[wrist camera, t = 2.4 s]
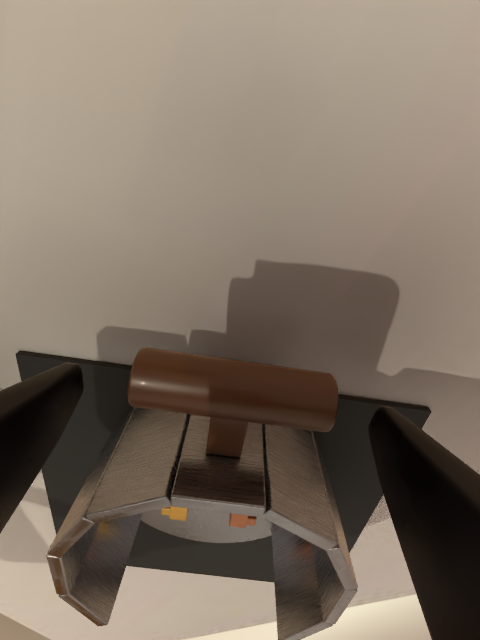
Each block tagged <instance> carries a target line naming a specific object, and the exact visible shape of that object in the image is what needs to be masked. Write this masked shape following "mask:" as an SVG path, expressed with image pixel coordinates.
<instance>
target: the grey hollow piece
mask: <svg viewBox="0 0 480 640" xmlns="http://www.w3.org/2000/svg"><path fill="white" fill-rule="evenodd" d="M128 401H129V404H130V405H131V406H133V407H134V408H133V409H132V410H131V411H130V412H129V413H128V415H127V416H126V417H125V418H124V419H123V421H122V422H121V423H120V424H119V425H118V427H117V428H116V429H115V430H114V431H113V433H112V434H111V435H110V436H109V437H108V439H107V441H106V443H105V445H104V447H103V449H102V450H101V452H100V454H99V456H98V458H97V460H96V462H95V464H94V466H93V467H92V469H91V471H90V473H89V475H88V477H87V479H86V481H85V482H84V484H83V486H82V488H81V490H80V492H79V494H78V496H77V498H76V499H75V501H74V503H73V505H72V507H71V509H70V511H69V513H68V514H67V516H66V518H65V520H64V522H63V524H62V526H61V528H60V530H59V531H58V533H57V535H56V537H55V539H54V541H53V543H52V545H51V546H50V548H49V550H48V554H47V559H48V563H49V567H50V571H51V574H52V578H53V582H54V586H55V589H56V593H57V594H59V597H60V598H62V599H63V600H64V601H66V602H67V603H68V604H70V605H71V606H72V607H74V608H75V609H76V610H78V611H79V612H80V613H82V614H83V615H84V616H85V617H87V618H88V619H89V620H91V621H92V622H93V623H95V624H96V625H97V626H103V625H107V624H108V622H109V619H110V616H111V612H112V609H113V606H114V603H115V600H116V596H117V593H118V590H119V587H120V584H121V581H122V577H123V574H124V571H125V568H126V565H127V561H128V558H129V555H130V552H131V549H132V545H133V542H134V539H135V536H136V533H137V530H138V526H139V523H140V520H142V521H143V522H145V523H146V524H148V525H150V526H152V527H154V528H156V529H158V530H161V531H163V532H166V533H168V534H171V535H174V536H178V537H181V538H185V539H190V540H195V541H201V542H212V543H235V542H245V541H252V540H256V539H261V538H265V537H268V536H271V535H272V547H273V564H274V581H275V597H276V614H277V629H278V630H277V631H278V640H301V639H303V638H305V637H307V636H310V635H312V634H314V633H317V632H319V631H321V630H324V629H326V628H328V627H331V626H332V625H333V624H335V623H336V622H337V620H338V619H339V617H340V616H341V614H342V613H343V612H344V610H345V609H346V607H347V606H348V604H349V603H350V601H351V600H352V598H353V597H354V595H355V594H356V592H357V588H358V586H357V582H356V578H355V574H354V570H353V566H352V563H351V559H350V555H349V551H348V547H347V543H346V539H345V536H344V532H343V528H342V524H341V520H340V516H339V512H338V509H337V505H336V501H335V497H334V493H333V489H332V485H331V482H330V478H329V474H328V470H327V466H326V463H325V461H324V458H323V456H322V453H321V450H320V448H319V445H318V443H317V440H316V438H315V435H314V433H313V431H318V432H328V431H330V430H331V429H332V427H333V425H334V423H335V420H336V417H337V411H338V388H337V383H336V380H335V378H334V377H333V376H332V375H331V374H329V373H322V372H315V371H308V370H301V369H294V368H287V367H280V366H273V365H266V364H259V363H252V362H244V361H237V360H230V359H223V358H216V357H209V356H202V355H195V354H188V353H181V352H174V351H167V350H159V349H152V348H142V349H141V350H140V351H139V352H138V354H137V356H136V358H135V360H134V362H133V365H132V368H131V372H130V377H129V382H128ZM171 506H173V507H181V508H188V514H187V519H186V521H181V520H173V519H170V516H168V515H161V509H162V508H166V507H171ZM231 514H239V515H247V516H256V518H257V519H256V523H255V526H251V525H246V528H240V527H232V526H229V519H230V515H231Z"/></svg>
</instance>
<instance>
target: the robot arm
mask: <svg viewBox="0 0 480 640" xmlns="http://www.w3.org/2000/svg"><path fill="white" fill-rule="evenodd" d="M83 389H84V384H83V375H82V368H81V366H80V365H79V364H74V363H63V364H61V365H59V366H56V367H54V368H52V369H49V370H47V371H45V372H43V373H40V374H38V375H36V376H33V377H31V378H29V379H26V380H24V381H22V382H20V383H17V384H15V385H13V386H10V387H8V388H6V389H4V390H1V391H0V533H1V531H2V530H3V528H4V527H5V525H6V523H7V522H8V520H9V519H10V517H11V516H12V514H13V512H14V511H15V509H16V508H17V506H18V505H19V503H20V501H21V500H22V498H23V497H24V495H25V494H26V492H27V490H28V489H29V487H30V486H31V484H32V483H33V481H34V479H35V478H36V476H37V475H38V473H39V472H40V470H41V468H42V467H43V465H44V464H45V462H46V461H47V459H48V457H49V456H50V454H51V453H52V451H53V450H54V448H55V446H56V445H57V443H58V441H59V439H60V438H61V436H62V434H63V432H64V430H65V428H66V426H67V424H68V422H69V420H70V418H71V416H72V414H73V412H74V410H75V408H76V406H77V404H78V402H79V399H80V397H81V395H82V393H83ZM368 433H369V437H370V442H371V446H372V451H373V455H374V460H375V464H376V469H377V473H378V477H379V481H380V485H381V488H382V491H383V494H384V497H385V500H386V503H387V506H388V509H389V512H390V515H391V518H392V521H393V524H394V527H395V530H396V533H397V536H398V539H399V542H400V545H401V548H402V551H403V554H404V557H405V560H406V563H407V566H408V569H409V572H410V575H411V578H412V581H413V584H414V587H415V590H416V593H417V596H418V599H419V602H420V605H421V608H422V611H423V614H424V617H425V620H426V623H427V626H428V629H429V632H430V635H431V638H432V640H480V475H479V474H478V473H477V472H476V471H474V470H473V469H472V468H470V467H469V466H468V465H467V464H465V463H464V462H463V461H461V460H460V459H459V458H457V457H456V456H455V455H454V454H452V453H451V452H450V451H448V450H447V449H446V448H445V447H443V446H442V445H441V444H439V443H438V442H437V441H435V440H434V439H433V438H432V437H430V436H429V435H428V434H426V433H425V432H424V431H423V430H421V429H420V428H419V427H417V426H416V425H415V424H414V423H412V422H411V421H410V420H408V419H407V418H406V417H405V416H403V415H402V414H401V413H399V412H398V411H397V410H395V409H394V408H392V407H385V406H379V407H378V408H377V409H376V411H375V413H374V415H373V417H372V420H371V422H370V424H369V427H368Z"/></svg>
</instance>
